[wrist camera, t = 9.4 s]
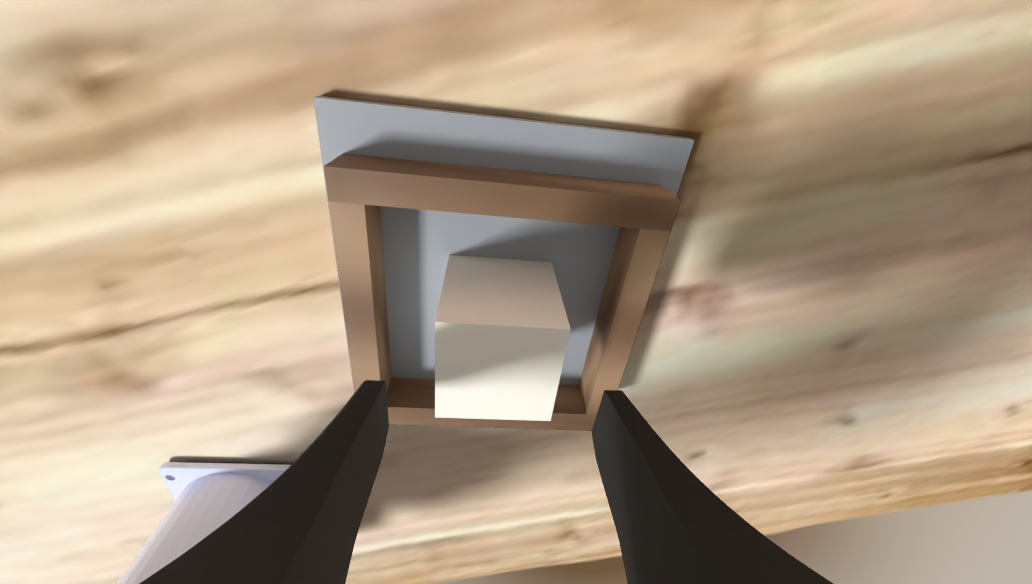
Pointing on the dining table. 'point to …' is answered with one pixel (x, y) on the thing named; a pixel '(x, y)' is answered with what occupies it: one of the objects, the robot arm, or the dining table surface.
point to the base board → (436, 234)
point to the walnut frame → (503, 193)
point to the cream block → (499, 339)
